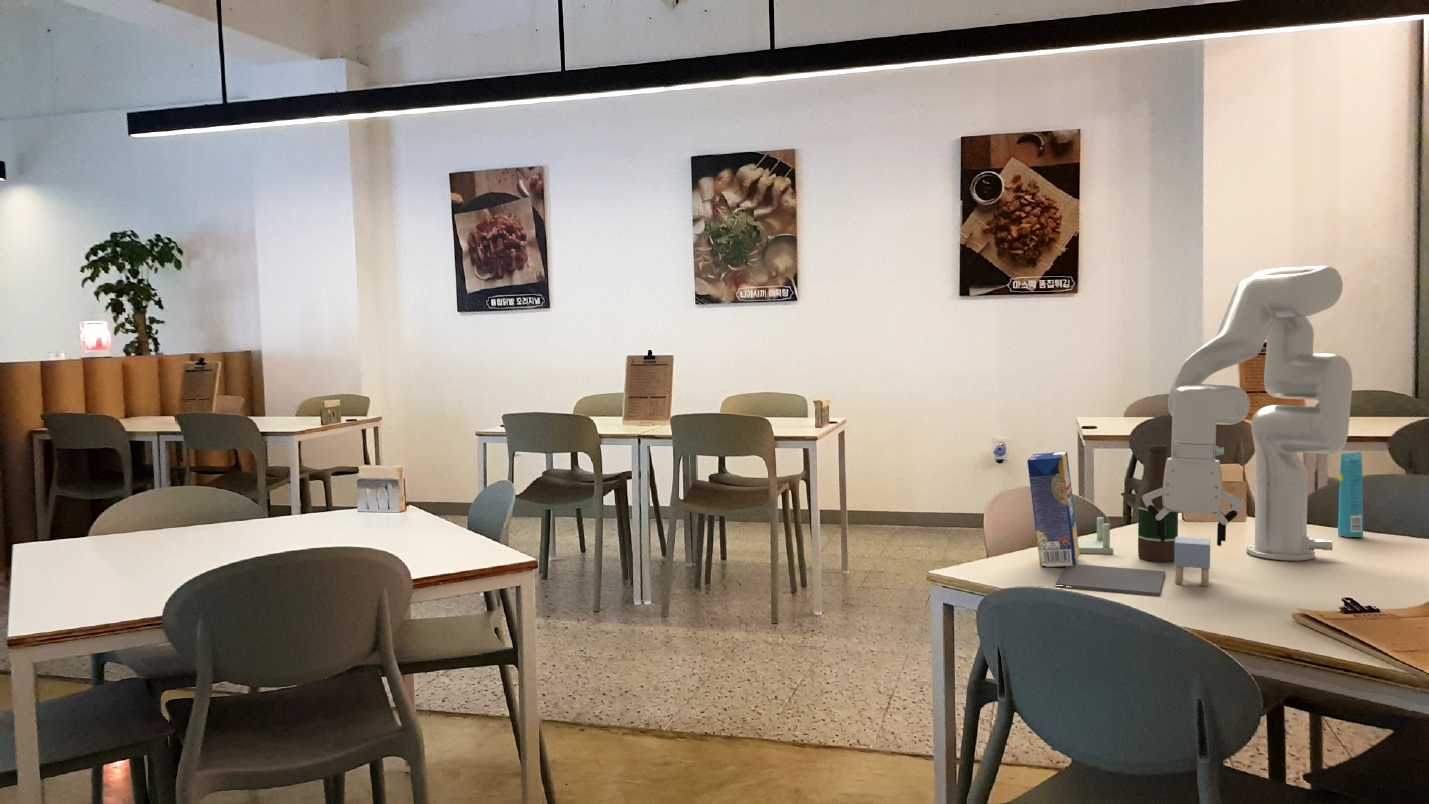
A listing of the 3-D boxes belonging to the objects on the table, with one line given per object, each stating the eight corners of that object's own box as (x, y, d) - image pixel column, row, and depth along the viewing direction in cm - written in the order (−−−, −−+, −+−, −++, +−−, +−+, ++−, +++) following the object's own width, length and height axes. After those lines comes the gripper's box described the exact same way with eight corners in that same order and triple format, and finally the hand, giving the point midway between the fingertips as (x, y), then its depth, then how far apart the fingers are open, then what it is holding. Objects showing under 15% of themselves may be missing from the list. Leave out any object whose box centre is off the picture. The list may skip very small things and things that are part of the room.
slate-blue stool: (1209, 580, 194) (1210, 538, 193) (1209, 587, 188) (1210, 545, 188) (1175, 577, 196) (1175, 536, 196) (1174, 584, 191) (1174, 542, 190)
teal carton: (1346, 532, 235) (1348, 450, 234) (1369, 536, 231) (1371, 452, 230) (1330, 536, 231) (1332, 453, 229) (1353, 540, 227) (1355, 454, 225)
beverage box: (1079, 554, 214) (1067, 451, 214) (1075, 565, 204) (1062, 457, 204) (1046, 555, 217) (1033, 454, 216) (1040, 567, 207) (1027, 460, 206)
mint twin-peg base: (1104, 544, 227) (1105, 516, 227) (1113, 553, 218) (1113, 525, 217) (1058, 543, 229) (1058, 516, 229) (1064, 552, 220) (1064, 524, 219)
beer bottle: (1182, 563, 208) (1183, 447, 206) (1141, 562, 209) (1143, 447, 208) (1173, 555, 215) (1174, 442, 214) (1134, 554, 217) (1135, 442, 215)
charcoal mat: (1164, 574, 199) (1164, 571, 199) (1159, 596, 183) (1159, 592, 183) (1068, 566, 207) (1068, 563, 207) (1055, 586, 191) (1055, 583, 191)
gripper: (1244, 452, 190) (1242, 543, 191) (1144, 448, 198) (1142, 535, 199) (1245, 456, 183) (1242, 550, 184) (1141, 451, 191) (1139, 542, 192)
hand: (1190, 542), depth 191 cm, fingers open, 9 cm apart
